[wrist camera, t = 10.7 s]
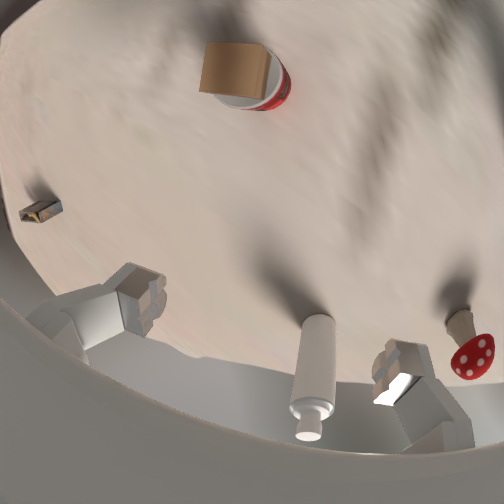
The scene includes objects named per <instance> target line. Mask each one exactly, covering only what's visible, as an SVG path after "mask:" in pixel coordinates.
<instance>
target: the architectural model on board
mask: <svg viewBox="0 0 504 504" xmlns="http://www.w3.org/2000/svg"><path fill="white" fill-rule="evenodd" d="M54 203H55V204H54ZM52 204H53V205H52ZM50 205H51V206H50ZM48 206H49V207H48ZM46 207H48V208H46ZM44 208H46V209H44ZM62 211H63V209H62V204H61V201H59V202H57V203H56V201H38V202H36V203H34V204H32V205H30V206H28V207H26V208H24V209H23V210H21V211H19V215H20V219H21V221H24V222H34V223H43V222H45V221H46V220H48V219H50V218H52V217H53V216H55V215H57V214H59V213H60V212H62Z"/></svg>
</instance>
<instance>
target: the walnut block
mask: <svg viewBox="0 0 504 504" xmlns="http://www.w3.org/2000/svg"><path fill="white" fill-rule="evenodd" d="M271 58H272V56H271V55H270V53H269V52H268V51H267V50H266V49H265V47H264V46H263V45H260V44H248V43H230V42H207V46H206V52H205V57H204V63H203V69H202V75H201V82H200V88H199V92H205V93H211V94H217V95H228V96H237V97H246V98H253V99H260V100H264V98H265V93H266V87H267V81H268V75H269V70H270V64H271Z"/></svg>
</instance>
